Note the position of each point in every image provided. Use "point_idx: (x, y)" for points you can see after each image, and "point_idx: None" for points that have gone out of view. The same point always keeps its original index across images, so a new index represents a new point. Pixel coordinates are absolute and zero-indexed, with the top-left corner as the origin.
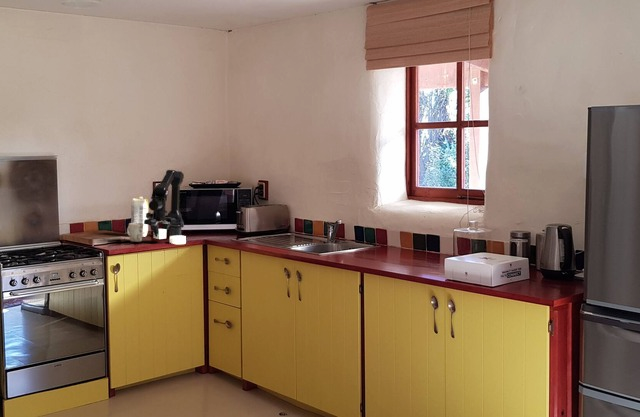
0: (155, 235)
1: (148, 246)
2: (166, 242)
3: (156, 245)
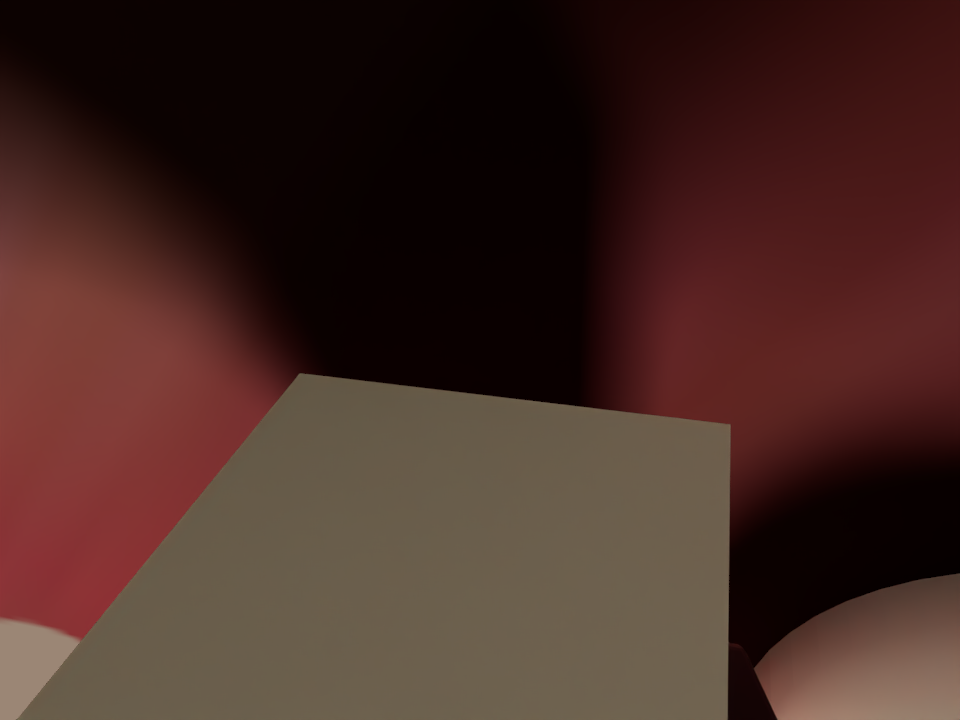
0: None
1: (6, 552)
2: (857, 483)
3: None
